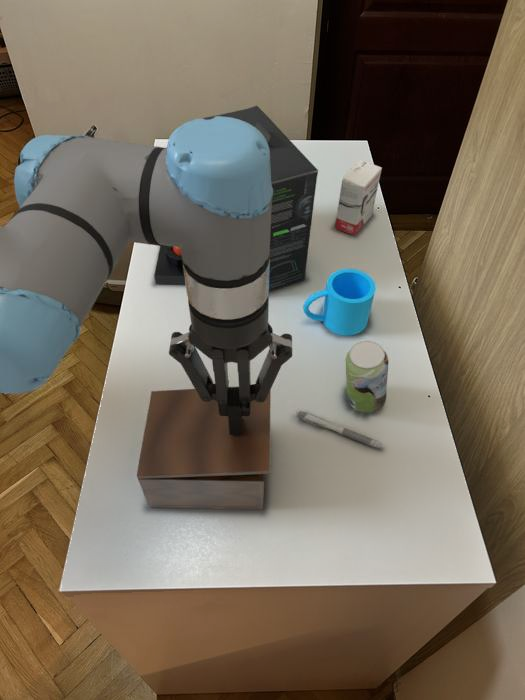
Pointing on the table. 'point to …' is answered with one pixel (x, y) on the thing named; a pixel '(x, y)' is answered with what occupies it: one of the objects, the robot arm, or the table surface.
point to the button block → (169, 267)
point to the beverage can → (366, 376)
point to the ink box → (357, 197)
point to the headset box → (285, 200)
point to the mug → (345, 302)
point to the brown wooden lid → (202, 438)
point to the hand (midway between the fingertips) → (235, 425)
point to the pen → (338, 429)
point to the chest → (205, 491)
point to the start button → (177, 250)
